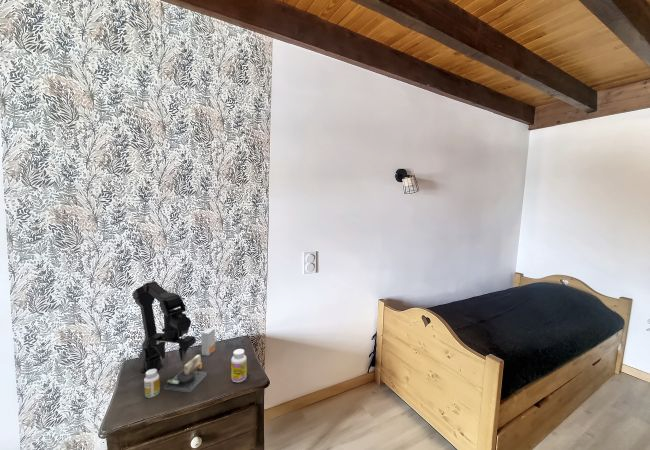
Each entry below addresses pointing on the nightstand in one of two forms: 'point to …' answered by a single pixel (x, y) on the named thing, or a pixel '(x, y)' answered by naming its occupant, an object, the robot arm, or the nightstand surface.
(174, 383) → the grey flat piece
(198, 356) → the knob
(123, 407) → the nightstand surface
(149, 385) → the supplement bottle
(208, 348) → the skincare box
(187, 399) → the nightstand surface
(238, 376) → the supplement bottle
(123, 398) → the nightstand surface
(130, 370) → the nightstand surface
